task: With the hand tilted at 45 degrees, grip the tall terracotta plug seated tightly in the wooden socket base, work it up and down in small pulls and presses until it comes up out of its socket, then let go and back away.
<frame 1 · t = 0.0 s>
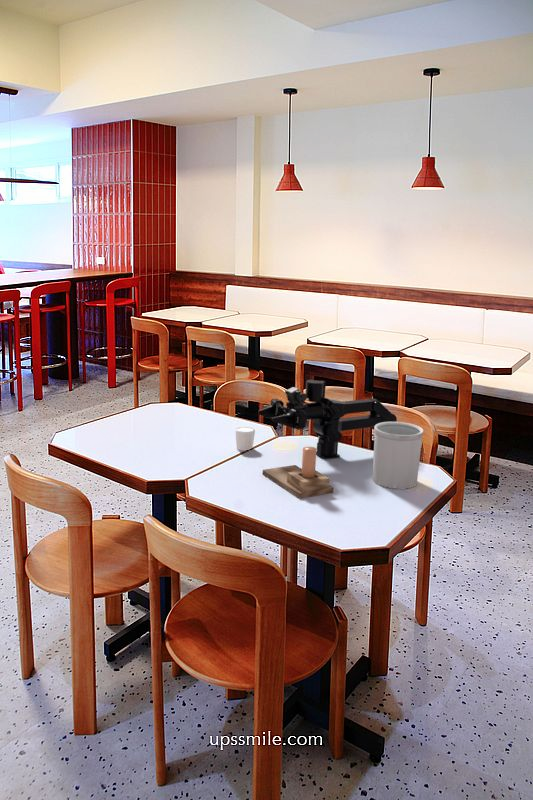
hand: (265, 416, 219), 17 cm above the table, tool horizontal, fingers open, 9 cm apart
utensil holder: (394, 482, 212), on the table
plug: (308, 466, 201), point 7 cm above the table, slide at 0.0 cm
wooden socket base: (307, 489, 203), on the table
white cup: (244, 448, 240), on the table
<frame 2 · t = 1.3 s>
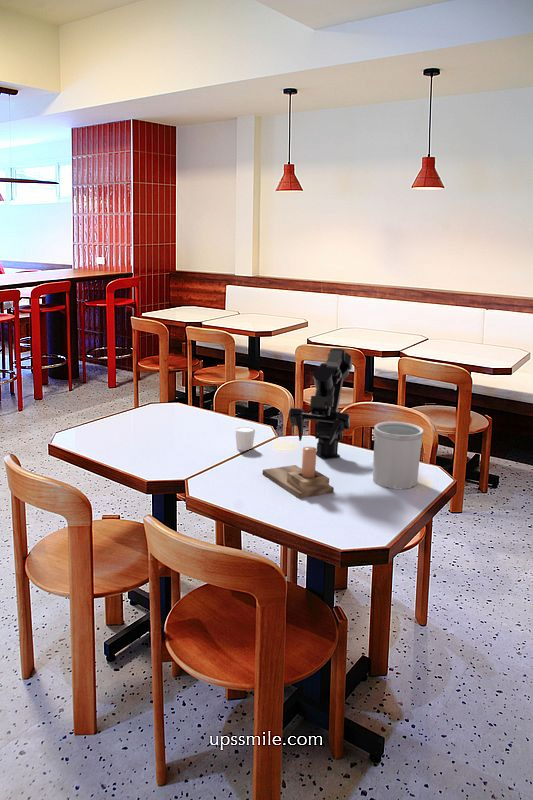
hand: (314, 442, 207), 13 cm above the table, tool tilted 45°, fingers open, 9 cm apart
nothing on the table moved.
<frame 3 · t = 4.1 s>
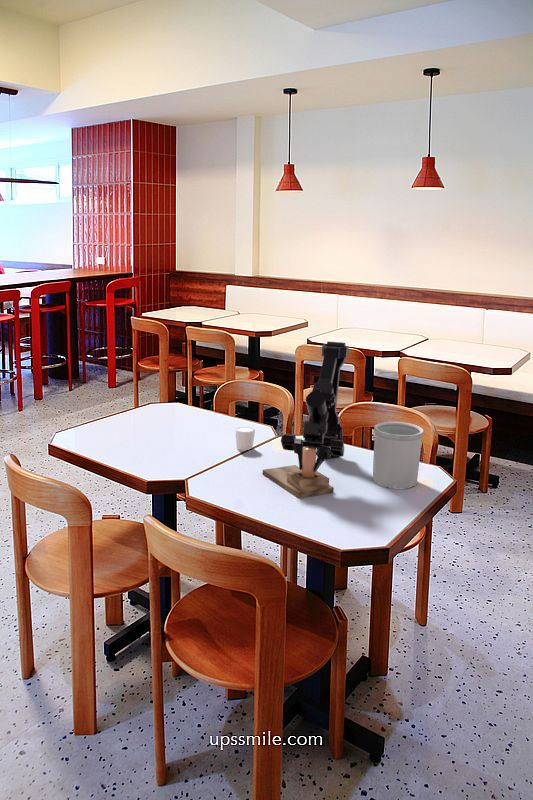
hand: (307, 470, 200), 7 cm above the table, tool tilted 45°, fingers closed on plug, 4 cm apart
plug: (308, 466, 201), point 7 cm above the table, slide at 0.0 cm, touching gripper
everything else where it was.
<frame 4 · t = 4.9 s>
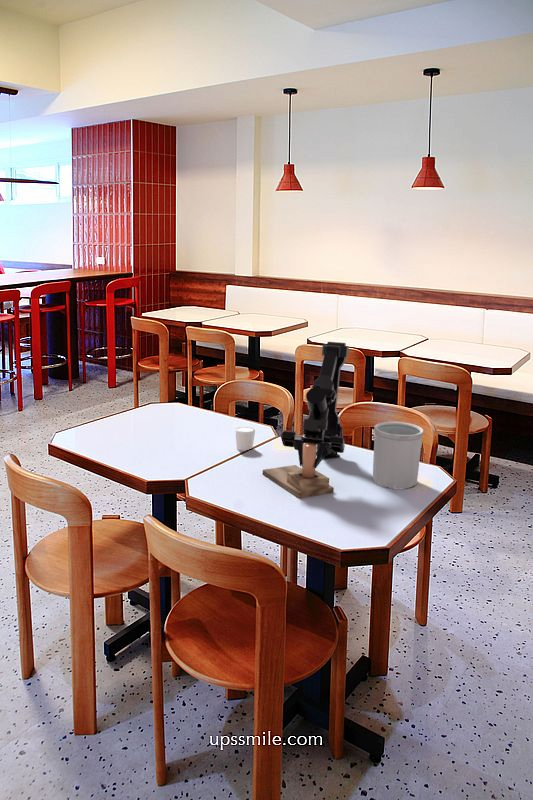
hand: (307, 466, 200), 8 cm above the table, tool tilted 45°, fingers closed on plug, 4 cm apart
plug: (308, 462, 201), point 8 cm above the table, slide at 1.1 cm, touching gripper
everything else where it was.
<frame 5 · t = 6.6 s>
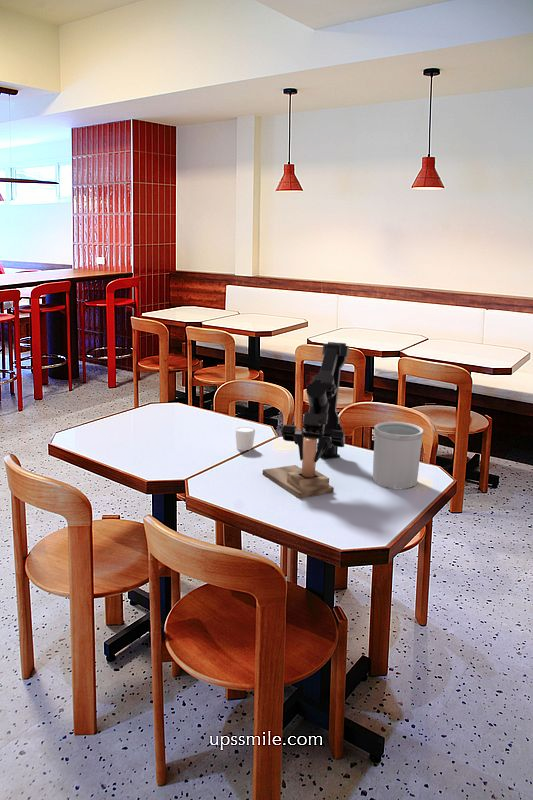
hand: (308, 460, 199), 9 cm above the table, tool tilted 45°, fingers closed on plug, 4 cm apart
plug: (309, 457, 200), point 10 cm above the table, slide at 2.8 cm, touching gripper
everything else where it was.
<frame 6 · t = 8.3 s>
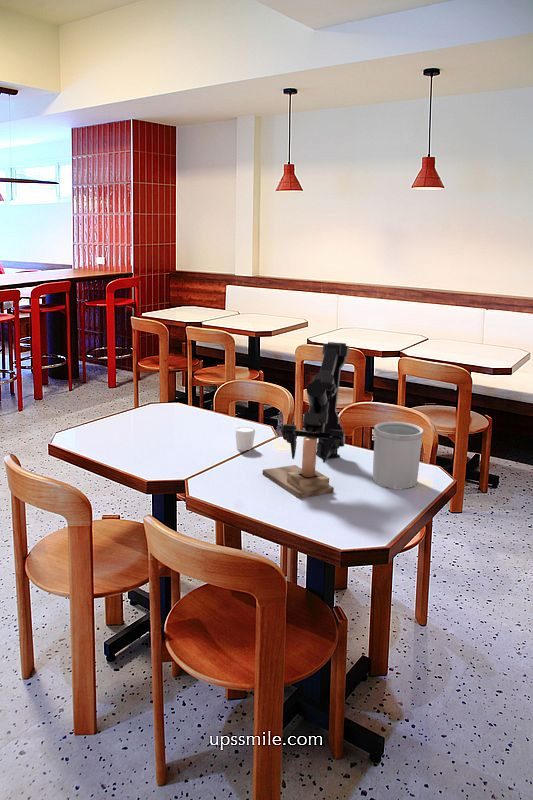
hand: (308, 460, 199), 10 cm above the table, tool tilted 45°, fingers open, 9 cm apart
plug: (309, 456, 200), point 10 cm above the table, slide at 3.0 cm
everything else where it was.
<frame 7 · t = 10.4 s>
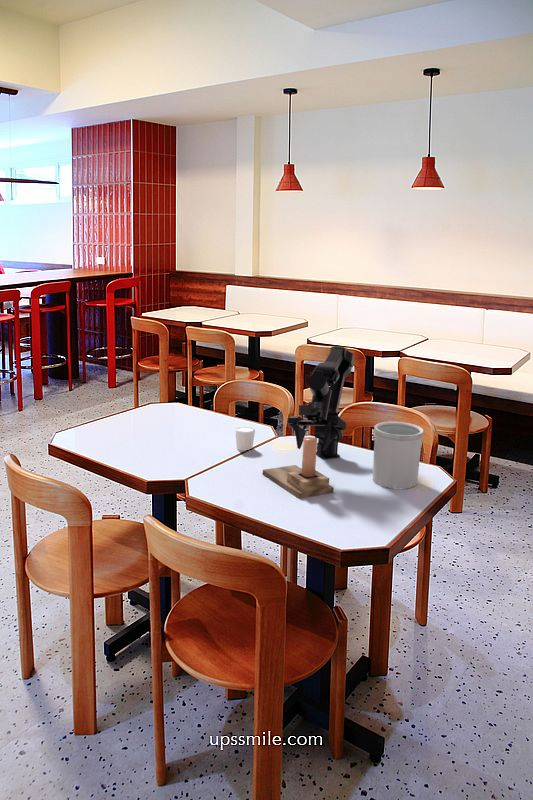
hand: (311, 448, 211), 9 cm above the table, tool tilted 35°, fingers open, 9 cm apart
nothing on the table moved.
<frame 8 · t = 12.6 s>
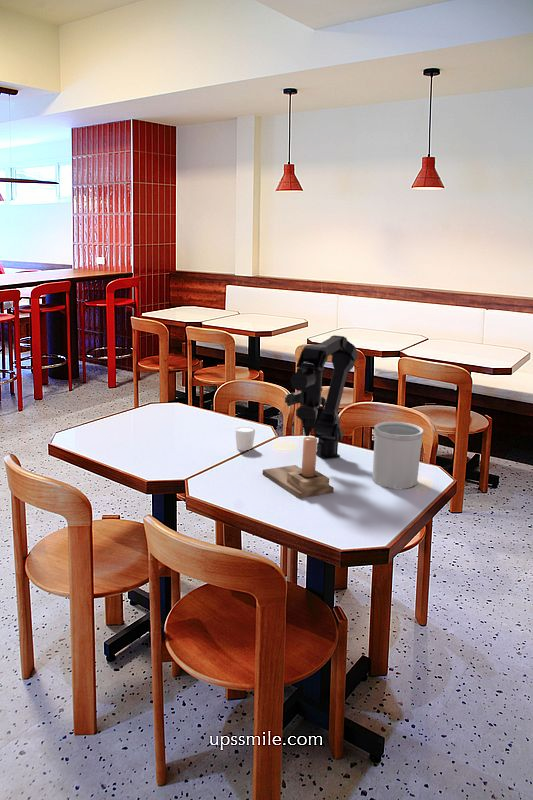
hand: (309, 432, 220), 12 cm above the table, tool pointing down, fingers open, 9 cm apart
nothing on the table moved.
at the end: plug slide at 3.0 cm; the gripper is holding nothing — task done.
